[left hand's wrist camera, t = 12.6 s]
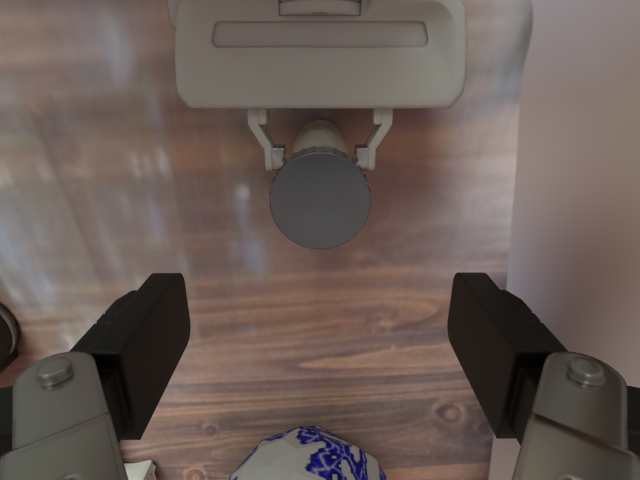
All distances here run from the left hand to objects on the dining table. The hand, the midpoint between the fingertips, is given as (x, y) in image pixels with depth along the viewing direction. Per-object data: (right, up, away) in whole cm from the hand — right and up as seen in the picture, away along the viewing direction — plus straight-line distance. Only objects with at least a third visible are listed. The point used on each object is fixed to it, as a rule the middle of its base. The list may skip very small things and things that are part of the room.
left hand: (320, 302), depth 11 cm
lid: (0, +4, +9) cm, 10 cm away
